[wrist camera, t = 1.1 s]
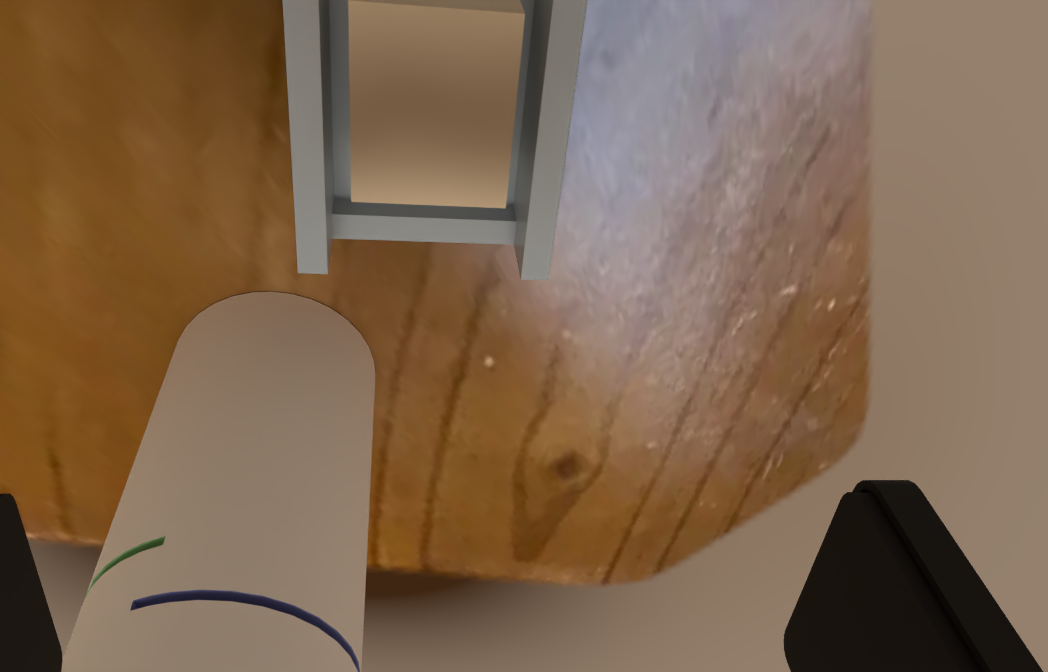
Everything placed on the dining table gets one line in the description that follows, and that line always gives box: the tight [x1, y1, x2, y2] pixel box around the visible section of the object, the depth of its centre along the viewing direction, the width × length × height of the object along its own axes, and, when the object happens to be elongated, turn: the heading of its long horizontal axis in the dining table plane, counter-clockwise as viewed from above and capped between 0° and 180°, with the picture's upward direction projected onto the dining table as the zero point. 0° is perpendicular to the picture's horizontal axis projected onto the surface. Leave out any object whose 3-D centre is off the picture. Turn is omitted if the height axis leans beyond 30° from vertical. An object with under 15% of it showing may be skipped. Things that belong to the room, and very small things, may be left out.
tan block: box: [348, 0, 525, 208], centre depth 23 cm, size 5×4×4 cm
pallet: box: [283, 0, 587, 280], centre depth 24 cm, size 10×7×5 cm
